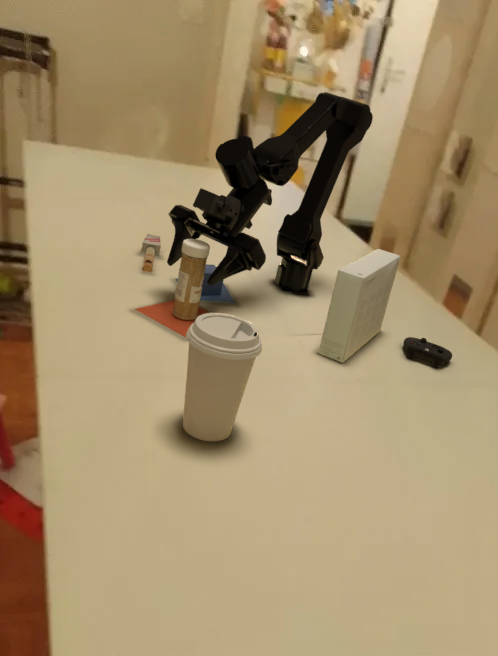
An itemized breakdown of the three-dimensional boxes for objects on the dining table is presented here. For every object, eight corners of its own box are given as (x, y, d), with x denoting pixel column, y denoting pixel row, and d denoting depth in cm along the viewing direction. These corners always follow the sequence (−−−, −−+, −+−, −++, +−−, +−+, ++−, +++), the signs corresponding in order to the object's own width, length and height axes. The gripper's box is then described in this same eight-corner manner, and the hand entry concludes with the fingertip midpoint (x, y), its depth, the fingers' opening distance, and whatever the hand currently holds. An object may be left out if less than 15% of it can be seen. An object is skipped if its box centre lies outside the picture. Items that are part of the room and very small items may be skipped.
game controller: (452, 355, 131) (457, 342, 126) (443, 379, 130) (448, 368, 124) (405, 339, 133) (408, 325, 127) (395, 362, 132) (398, 350, 126)
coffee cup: (213, 457, 85) (236, 351, 78) (155, 424, 88) (172, 319, 81) (255, 431, 92) (279, 332, 85) (201, 401, 96) (220, 304, 89)
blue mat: (222, 285, 138) (223, 283, 138) (235, 305, 130) (236, 303, 130) (174, 280, 134) (175, 278, 134) (185, 300, 126) (185, 298, 126)
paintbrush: (163, 230, 150) (157, 264, 133) (161, 242, 151) (155, 277, 135) (146, 227, 149) (137, 260, 132) (144, 238, 150) (136, 273, 134)
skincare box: (355, 322, 137) (378, 247, 130) (380, 332, 136) (404, 256, 128) (314, 352, 120) (337, 267, 112) (342, 364, 118) (367, 278, 111)
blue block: (209, 285, 135) (213, 264, 133) (220, 295, 132) (224, 273, 130) (189, 286, 132) (193, 264, 130) (200, 295, 129) (204, 273, 127)
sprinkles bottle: (198, 322, 118) (212, 249, 112) (172, 319, 117) (184, 244, 110) (195, 312, 122) (208, 240, 115) (170, 308, 121) (182, 235, 114)
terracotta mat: (181, 299, 126) (182, 297, 126) (230, 325, 122) (230, 323, 121) (134, 310, 117) (134, 308, 117) (184, 339, 112) (185, 336, 112)
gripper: (184, 156, 115) (128, 225, 111) (270, 191, 107) (213, 266, 104) (206, 200, 125) (156, 264, 121) (287, 234, 117) (235, 304, 114)
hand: (188, 274), depth 115 cm, fingers open, 9 cm apart
